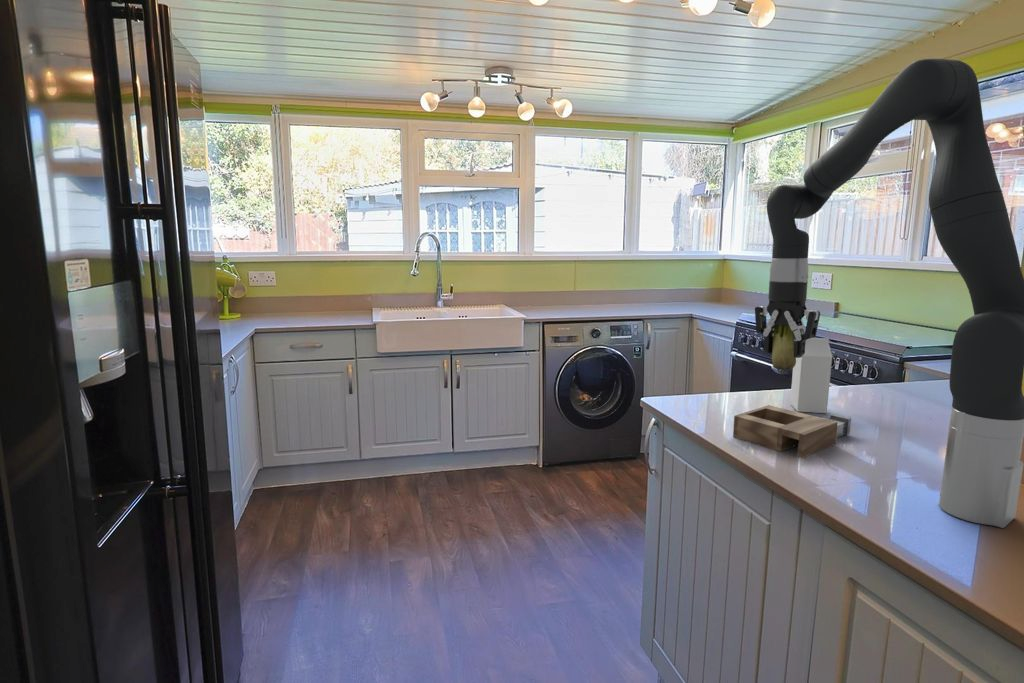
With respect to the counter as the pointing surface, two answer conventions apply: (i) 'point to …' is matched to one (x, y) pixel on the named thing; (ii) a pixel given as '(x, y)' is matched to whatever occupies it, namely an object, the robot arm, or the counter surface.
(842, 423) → the lock pin
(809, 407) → the milk carton
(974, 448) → the robot arm
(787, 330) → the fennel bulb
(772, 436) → the dock
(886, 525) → the counter surface
